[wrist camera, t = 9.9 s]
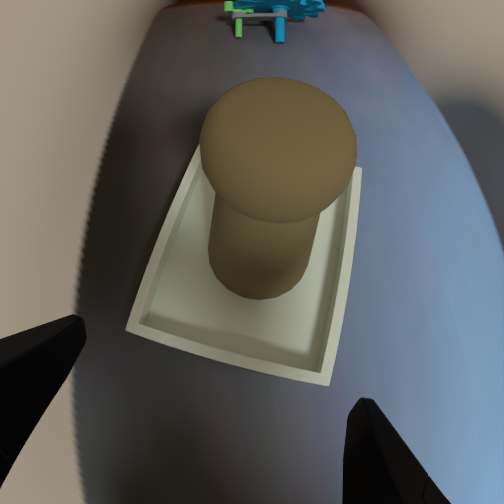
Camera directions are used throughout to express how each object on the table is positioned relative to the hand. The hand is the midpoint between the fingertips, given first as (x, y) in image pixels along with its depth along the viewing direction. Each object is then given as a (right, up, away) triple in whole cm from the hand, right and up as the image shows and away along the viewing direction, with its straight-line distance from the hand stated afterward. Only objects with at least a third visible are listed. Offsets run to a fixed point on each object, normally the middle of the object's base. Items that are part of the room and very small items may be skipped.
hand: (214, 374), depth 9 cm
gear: (+3, +29, +21) cm, 36 cm away
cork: (+2, +4, +10) cm, 11 cm away
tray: (+1, +4, +10) cm, 11 cm away
